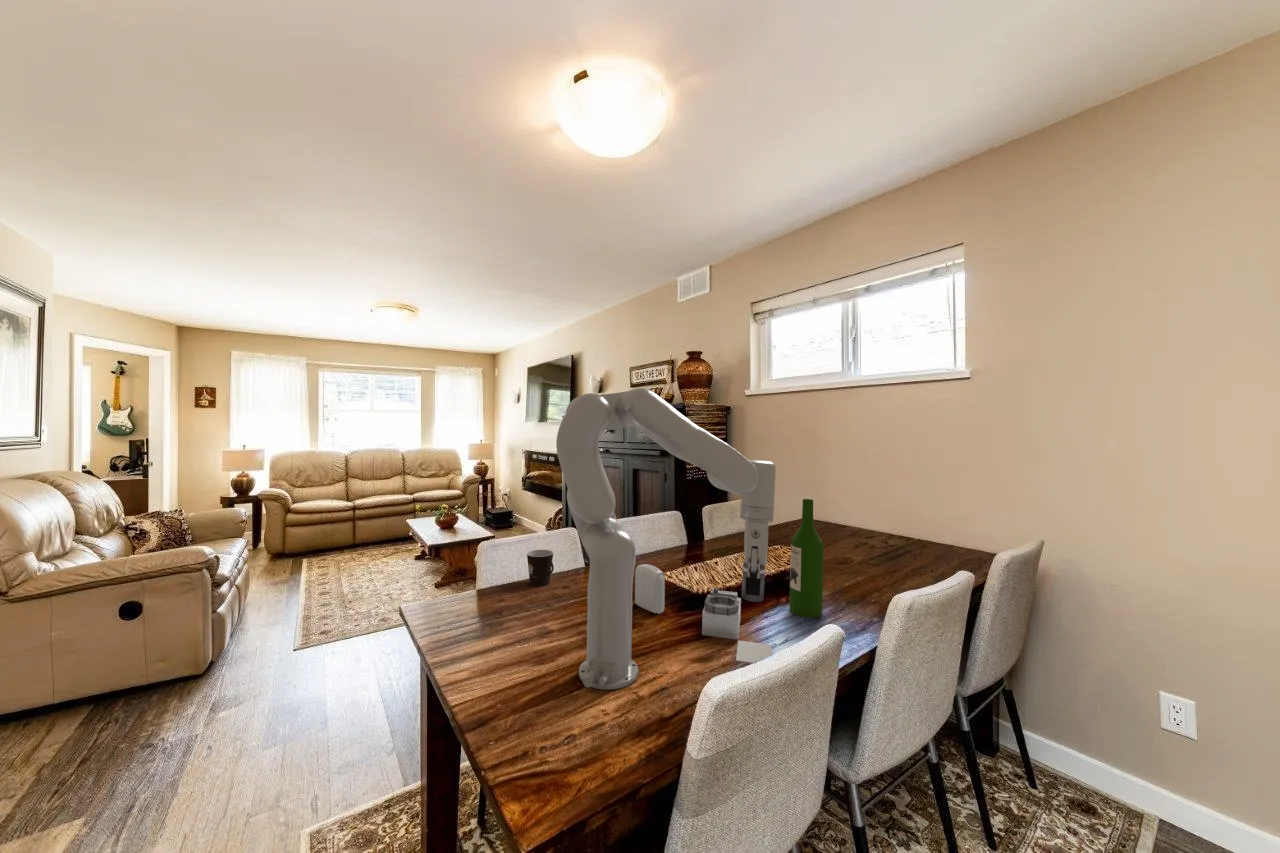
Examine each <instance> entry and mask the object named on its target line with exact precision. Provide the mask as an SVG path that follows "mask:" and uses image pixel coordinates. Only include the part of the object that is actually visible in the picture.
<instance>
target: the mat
mask: <svg viewBox="0 0 1280 853" xmlns="http://www.w3.org/2000/svg"><path fill="white" fill-rule="evenodd" d="M736 647H737V649H736V655H735V656H736V657H735V658H736V659H735V661H737V662H744V663H752V664H755V663H754V662H756V661H759V660H761V659H764V658H766V657H769V656H771V655H772V656H773V646H772V644H767V643H766V644H765V643H761V642H753V641H752V642H751V641H746V640H745V641H744V640H739V639H738V640H737V646H736ZM760 657H762V658H760Z"/></svg>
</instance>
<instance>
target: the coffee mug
mask: <svg viewBox="0 0 1280 853" xmlns="http://www.w3.org/2000/svg"><path fill="white" fill-rule="evenodd" d="M526 557H527V568H528V569H527V570H528V578H529V585H531V587H545V586H548V585H550V581H551V575H552V574H553V572H554V563H553V558H554V551H553V550H550V549H533V550H530V551H528V552H526Z"/></svg>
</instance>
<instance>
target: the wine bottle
mask: <svg viewBox="0 0 1280 853" xmlns="http://www.w3.org/2000/svg"><path fill="white" fill-rule="evenodd" d="M801 511H802V512H801V525H800V527H799V528H798V530H797V531H796V533H795V534H794V536H792V538H791V541H790V565H789V566H790V571H789V572H790V573H789V574H790V576H789V577H790V579H789V580H790V581H789V611H790V613H792V614H794V615H795V616H797V617H801V618H808V619H809V618H810V619H813V618H814V619H815V618H819V617H821V616H822V615H823V593H824V592H823V589H824V552H825V551H824V549H825V548H824V543H823V540H822V539H821V537H820V535H819V534H818V532H817V530H816V529H815V526H814V499H812V498H811V499H810V498H803V499H802V510H801Z"/></svg>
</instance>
